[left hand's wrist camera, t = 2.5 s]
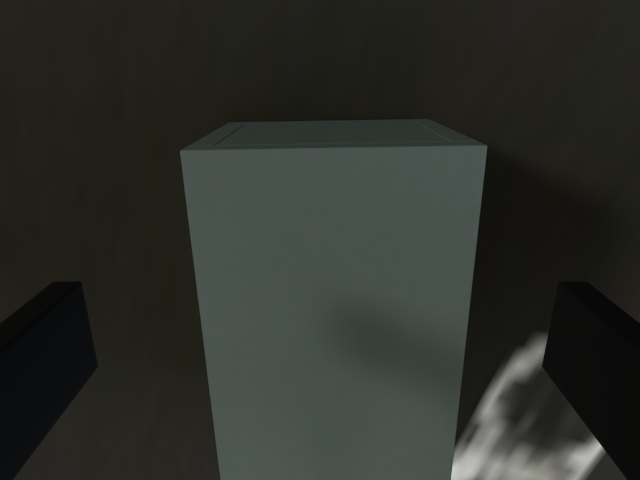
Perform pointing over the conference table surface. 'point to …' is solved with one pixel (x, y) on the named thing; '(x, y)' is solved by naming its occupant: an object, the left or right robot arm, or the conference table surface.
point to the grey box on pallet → (334, 293)
